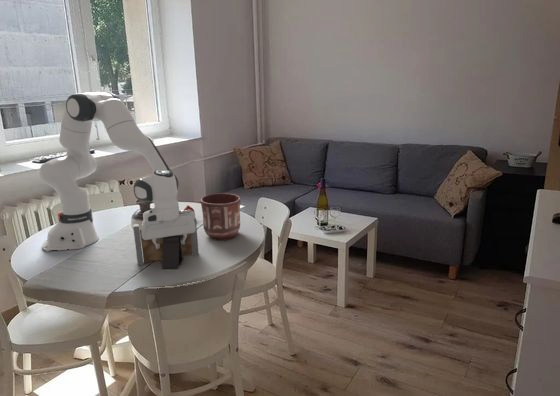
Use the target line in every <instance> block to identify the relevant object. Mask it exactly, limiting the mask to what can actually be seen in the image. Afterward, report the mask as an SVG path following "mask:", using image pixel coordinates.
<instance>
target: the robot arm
mask: <svg viewBox="0 0 560 396" xmlns="http://www.w3.org/2000/svg"><path fill="white" fill-rule="evenodd" d="M61 120H62V121H61V124H60V132H59V139H58V140H59V144H60V145H61V146H62V147H63V148H64V149H66V154H65V155H64V156H60V157H55V158H51V159H49V160H48V161H46V162H44V163H42V164H41V165H40V168H39V175H40V178H41V180H42V181H43V182H44V183H45V184H46V185H48V186H50V187H52V188H53V190H55V192H56V193H57V195H58V198H59V201H60V206H61V211H58V213H57V218H58V222H57V223H56V224H55V225H54V226H53V227H51V228H50V229H49V231H48V232H47V238H46V240H45V241H44V242H43V243H42V250H43V249H44V250H46V251H45V252H50V251H49V250H58V251H65V250H66V251H67V249H69V250H77V249H78V250H79V249H84V248H85V247H87V246H89V245H91V244H94V243H96V242H97V241H98V240H99V235H98V233H97V232H96V229H95V224H94V216H93V210H92V209H91V205H90V200H89V199H90V198H89V194H88V192H87V191H86V189H85V190H84V189H83V188H80V187H79V185H78V183H77V180H81V179H83V178H87V177H88V176H90V175H91V174H94V173H95V172H96V170H97V168H98V162H97V160H96V158H95V156H94V155H92V154H91V152H90V140H91V132H92V125H93V122H99V121H101V123H102V124H103V125H104V129H105V131H106V133H107V135H108V138H109V139H110V141H111V143H112V144H113V145H114V146H115V147H116V148H118V149H121V150H123V151H128V152H134V153H137V154H139V155H141V156H143V157H144V158H145V159H146V161H147V162H148V164H149V166H150V168H152V170H153V171H152V173H151V174H149V175H147V176H146V175H145V176H143V177H141V178H138V179H137V180H136V181H135V182H134V184H133V193H134V196H135V198H136V199H137V200H138V201H139V202H142V203H154V205H153V207H154V208H151V209H149V210H146V211H144V212H143V213H142V218H143V220H142V221H141V226H140V228H141V234H142V238H143V239H144V240H149V239H152V242H153V243H154V244H155V245H156V249H159V248H160V244H159V243H157V242H156V238H163V237H169V236H176V235H182V234H183V238H182V239H181V240H180V242H181V245H185V239H186V237H187V234H189V233H194V232H195V231H196V227H195V222H194V219H195V218H196V211H195V210H194V211H192V210H184V209H183V210H180V207H179V206H180V205H179V202H178V190H179V185H180V184H179V179H178V177H177V176H176V174H175V173H174V172H173V171H172V170H171V168H170V167H169V166H168V164H167V162H166V161H165V159H164V157H163V156H162V155H161V152H160V151H159V149H158V147H157V146H156V145H155V143H154V142H153V140H152V139H151V138H150V137H149V136H147V135H145V133H144V132H143V131H142V130H141V129H140V128H139V126H138V125H137V123H136V121H135V119H134V117H133V115H132V112H131V111H130V109H129V108H128V107H127V105H126V103H125V102H124V101H123V100H121V97H119V95H117V94H115V93H112V92H108V91H107V92H101V91H93V92H84V93H83V92H77V93H73V94H71V95H69V96H68V97H67V99H66V102H65V109H64V113H63V115H62V119H61ZM44 250H43V251H44Z"/></svg>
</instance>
